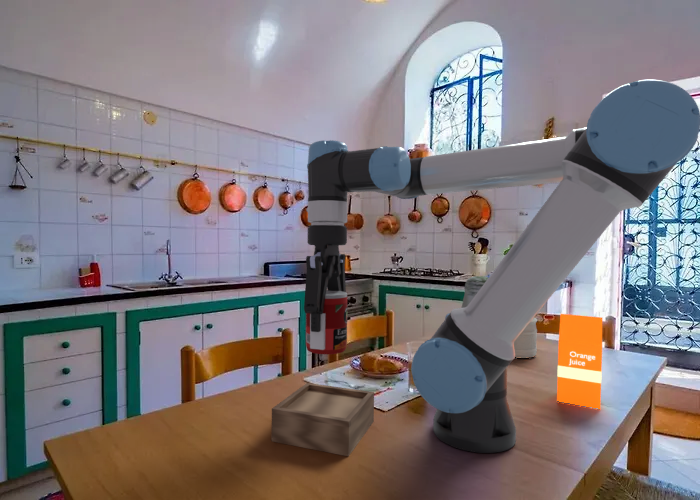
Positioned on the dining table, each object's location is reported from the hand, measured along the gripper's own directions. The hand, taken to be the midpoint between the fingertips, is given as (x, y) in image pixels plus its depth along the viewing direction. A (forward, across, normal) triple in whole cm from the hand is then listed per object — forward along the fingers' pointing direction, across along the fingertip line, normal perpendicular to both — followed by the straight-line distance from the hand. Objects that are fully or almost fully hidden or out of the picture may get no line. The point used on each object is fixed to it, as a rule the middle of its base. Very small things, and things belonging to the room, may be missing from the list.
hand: (326, 343), depth 82 cm
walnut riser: (+17, 0, 0) cm, 17 cm away
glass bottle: (+17, -38, +26) cm, 49 cm away
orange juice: (+17, -36, +49) cm, 63 cm away
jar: (+17, -74, +36) cm, 84 cm away
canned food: (+1, 0, 0) cm, 1 cm away
